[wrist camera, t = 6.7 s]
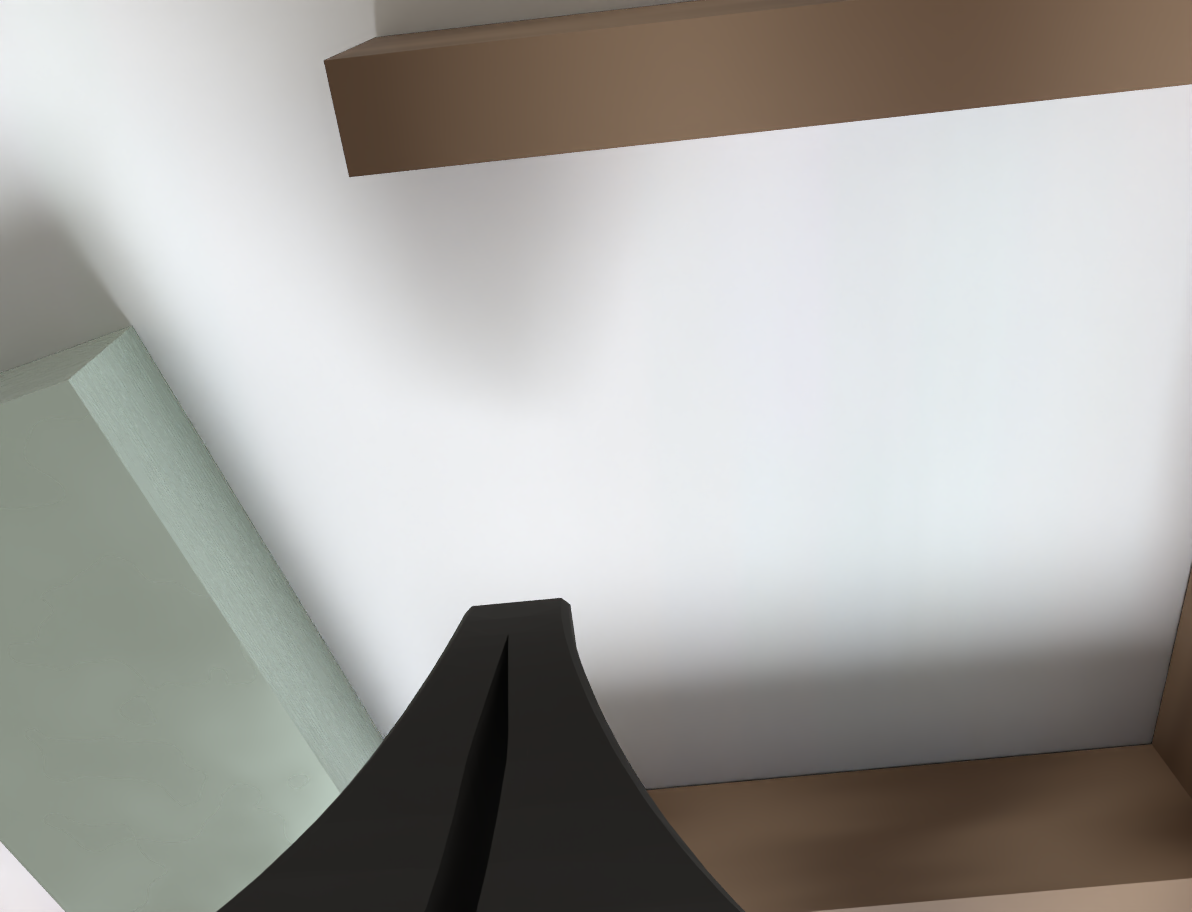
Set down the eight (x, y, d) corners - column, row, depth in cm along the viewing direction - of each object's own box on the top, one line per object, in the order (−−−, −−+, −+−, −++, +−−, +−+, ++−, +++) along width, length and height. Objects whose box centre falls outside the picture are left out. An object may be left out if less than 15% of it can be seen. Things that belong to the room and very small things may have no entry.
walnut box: (1433, -84, 12) (1671, -94, 10) (1201, 782, 19) (1301, 913, 17) (375, 38, 13) (324, 60, 10) (531, 842, 20) (525, 980, 17)
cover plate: (143, 316, 15) (68, 379, 13) (429, 795, 20) (410, 901, 18) (-180, 432, 16) (-303, 511, 13) (171, 865, 21) (123, 974, 18)
